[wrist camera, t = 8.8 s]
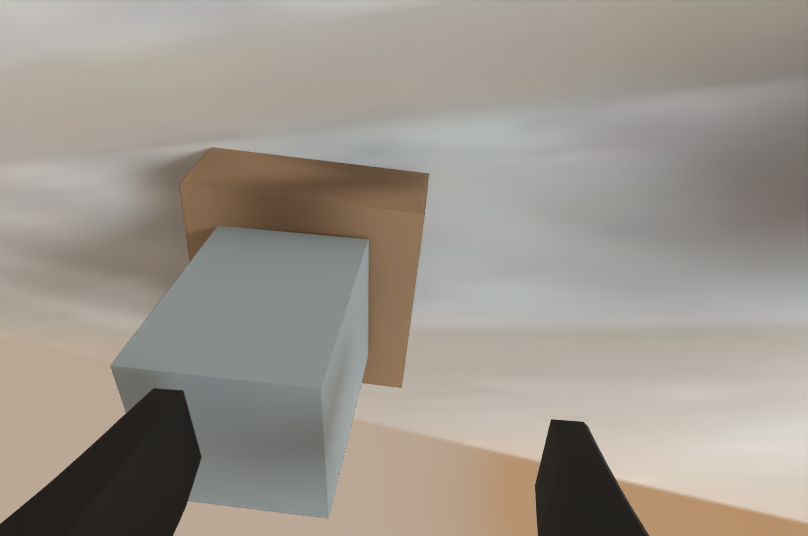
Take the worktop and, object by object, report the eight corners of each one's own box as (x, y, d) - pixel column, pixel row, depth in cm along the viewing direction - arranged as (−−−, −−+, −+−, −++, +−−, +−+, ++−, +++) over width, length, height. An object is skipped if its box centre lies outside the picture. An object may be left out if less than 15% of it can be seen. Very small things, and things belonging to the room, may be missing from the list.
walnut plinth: (429, 168, 19) (424, 214, 16) (408, 331, 23) (401, 387, 20) (215, 142, 19) (179, 183, 16) (231, 309, 23) (204, 362, 20)
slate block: (368, 239, 17) (320, 388, 12) (368, 355, 19) (328, 518, 14) (218, 225, 17) (110, 365, 12) (236, 341, 20) (153, 496, 15)
